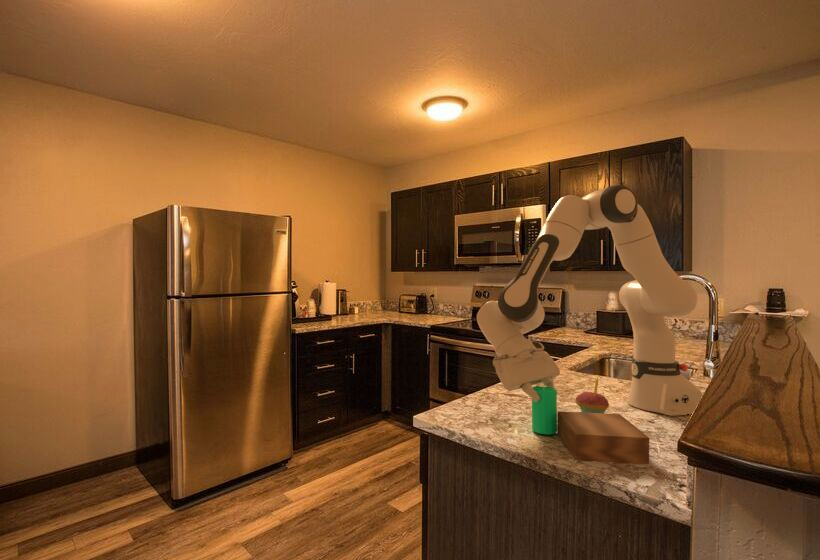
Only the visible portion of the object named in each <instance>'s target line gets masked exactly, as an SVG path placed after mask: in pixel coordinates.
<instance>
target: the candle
mask: <svg viewBox="0 0 820 560" xmlns="http://www.w3.org/2000/svg"><path fill="white" fill-rule="evenodd" d="M532 388H533V389H534V390H535V391H536V392H538V394H539V395H540V396H541V397H542V399H541V400H539V401H538V402H534V400H533V399H532V398H531V428H532V431H533V432H535V433H537V434H542V435H555V434H557V414H558V410H557V409H558V408H557V406H558V403H557V402H558V401H557V397H558V396H557V395H558V394H556V391H557V388H555V389H553V388H551V387H547V386H541V385H534V386H532Z"/></svg>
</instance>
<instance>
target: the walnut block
mask: <svg viewBox="0 0 820 560" xmlns="http://www.w3.org/2000/svg"><path fill="white" fill-rule="evenodd" d="M556 434H557V435H558V438H561V439H560V440H561V442H562V441H563V442H562V443H563V444H565V445H564V446H565V447H566V449H567V448H568V449H567V450H568V452H569V451H570V452H569V453H570V455H571V454H572V455H571V456H572V457H574V458H573V459H574V460H577V461H576V462H592V461H597V462H596V463H610V462H615V463H614V464H629V463H631V464H633V465H634V464H635V465H647V464H649V465H650V437H649V436H648V435H647V434H646V433H644V432H643V431H642V430H641V429H639V428H638V427H637V426H635V424H633V423H632V422H630V421H629V420H628V419H626V418H625V416H623V415H622V414H620V413H605V412H604V413H584V412H582V411H580V412H579V411H578V412H576V411H561V410H560V411H558V410H557V432H556Z"/></svg>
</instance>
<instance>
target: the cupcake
mask: <svg viewBox="0 0 820 560" xmlns="http://www.w3.org/2000/svg"><path fill="white" fill-rule="evenodd" d="M598 387H599V377H597V378H596V379H595V383H594V390H593V392H592V391H584V392H582V393H579V394H578V395H577V396H576V397H575V403H576V405H577V406H578V407H579V408H580V412H584V413H605V412H606V410H607V409H608V408H609V406H610V404H609V400H608V399H607V398H606V396H605V395H602V394H601V393H598Z"/></svg>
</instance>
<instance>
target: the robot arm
mask: <svg viewBox="0 0 820 560" xmlns="http://www.w3.org/2000/svg"><path fill="white" fill-rule="evenodd" d="M605 228H607V229H608V230H609V231H610V232H611V233H610V234H611V236H612V240H613V244H614V246H615V249H616V251H617V254H618V257H619V260H620V262H621V263H620V264H621V265H622V267H623V269H624V270H625V271H626V272H628V273H629V274H630V275H631V276H632V277H633V278H634V279H635V280H630V281H628V282H626V283H624V284H623V285H622V286H621V287H620V289H619V292H618V294H619V295H618V300H619V301H620V304H621V305H622V306H623V308H624V309H625V310H626V313H627V316H628V318H629V321H630V324H631V327H632V333H633V334H632V335H633V356H632V358H631V375H632V377H631V384H630V390H629V393H628V396H627V399H626V403H627V404H628V405H630V406H631V407H635V408H636V409H640V410H644V411H647V412H648V411H649V412H653V413H658V414H662V415H666V416H671V417H672V416H690V415H691V414H692V413H693V411H694V409H695V408H696V406H697V404H698V402H699V401H700V399H701V397H703V393H702V391H701V389H700V388H699V387H698V386H696V384H694V383H693V382H692V381H690V380H689V379H687V378H686V377H685V376H684V375H682V372H681V371H683V372H685V373H686V372H688V371H689V368H690V367H689V366H688V365H687V364H685V363H679V362H677V361H676V336H675V334H674V333H673V332H672V330H671V329H670V328H669V327H668V324H667V323H666V319H665V317H667V318H675V317H682V316H683V317H684V316H688V315H690V314H691V313H692V312H693V311H694V310H695V309H696V307H697V304H698V294H697V292H696V289H695V288H694V287H693V286H692V285H691V284H689V283H687V282H686V281H685V280H683V279H682V278H681V277H680V276H679V275H678V274H677V273H676V272H675V270H674V269H673V268H672V267H671V265H670V264H669V262H668V261H667V259H666V258H665V256H664V255H663V251H662V249H661V246H660V244H659V242H658V239H657V237H656V233H655V230H654V228H653V225H652V223H651V222H650V219H649V217H648V216H647V213H646V212H645V210H644V209H643V207H642V206H641V205H640V204H638V199H637V197H636V194H635V193H634V192H633V190H632V189H631V188H630V187H628V186H626V185H623V184H616V185H615V184H614V185H609V186H607V187H605V188H600V189H597V190H594V191H592V192H590V193H588V194H586V195H583V196H582V197H580V196H577V195H573V194H571V195H569V194H568V195H564V196H562V197H560V198H559V199H558V201H557V202H556V203H555V205H554V206H553V207H552V208H551V210H550V211H549V213H548V215H547V217H546V219H545V221H544V223H543V225H542V227H541V229H540V231H539V234H538V236H537V238H536V239H535V241H534V243H533V244H532V246H531V248H530V249H529V251H528V253H527V255H526V257H525V258H524V260H523V262H522V264H521V265H520V267H519V269H518V271H517V273H516V274H515V276H514V277H513V278H512V279H511V280H510V281H509V282H508V283H507V284H506V285H505V286H504V287H503V288H502V289H501V291H500V292H499V295H498V299H497V300H490V301H487V302H485V303H484V304H483V305H481V307H480V308H479V309H478V312H477V313H476V322H477V324H478V327H479V329H480V331H481V332H482V334H483V335H484V337H485V339H486V341H487V342H489V344H491V345H492V347H493V348H494V352H495V353H496V355H497V356H495V357H494V358H493V360H492V365H493V367H494V368H495V372H496V376H498V378H499V380H500V382H501V384H502V386H503V388H504V389H505V390H507V391H508V392H513V391H515V390H520V389H521V390H522V391H523V392H524V393H525V394H526V395H527V396H529V397H531V400H532V399H533V400H534V402H538V401H539V400H541V399H542V397H541V396H540V395H539V394H538V392H536V391H535V390H534V389H533V388H532V387H533V386H537V385H539V384H543V386H544V387H551V388H553V389H556V387H555V384H554V380H555V379H556V378H557V377H558V376H560V374H561V371H560V368H559V366H558V365H557V363H556V362H555V360H554V359H553V357H552V356H551V355H550V354H549V353H548V352H547V351H545V350H544V349H545V346H544V344H542V343H541V342H538V341H534V340H531V339H529V338H525V336H524V335H525V334H527V333H530V332H532V331H535V330H536V329H538V328H539V327H540V326H542V324H543V323H544V321H545V317H546V312H545V308H544V306H543V304H542V302H541V301H540V299H539V286H540V285H541V282H542V281H543V278H544V277H545V275H546V272H547V271H548V269H549V267H550V265H551V264H552V263H553V261H560V262H561V261H564V260H567V259H569V258H570V257H571V256H572V254H574V252H575V250H576V249H577V248H578V246H579V243H580V242H581V239H582V237H583V234H584V232H587V231H591V230H600V229H605ZM558 393H559V392H558V391H557V390H556V394H557V395H558ZM687 414H689V415H687ZM691 416H692V415H691Z"/></svg>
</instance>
